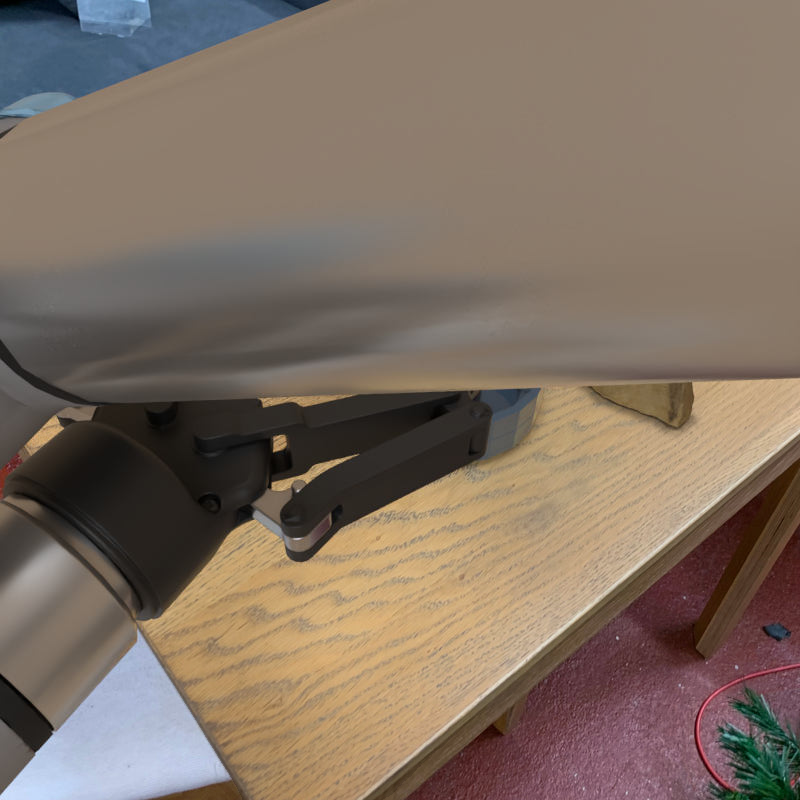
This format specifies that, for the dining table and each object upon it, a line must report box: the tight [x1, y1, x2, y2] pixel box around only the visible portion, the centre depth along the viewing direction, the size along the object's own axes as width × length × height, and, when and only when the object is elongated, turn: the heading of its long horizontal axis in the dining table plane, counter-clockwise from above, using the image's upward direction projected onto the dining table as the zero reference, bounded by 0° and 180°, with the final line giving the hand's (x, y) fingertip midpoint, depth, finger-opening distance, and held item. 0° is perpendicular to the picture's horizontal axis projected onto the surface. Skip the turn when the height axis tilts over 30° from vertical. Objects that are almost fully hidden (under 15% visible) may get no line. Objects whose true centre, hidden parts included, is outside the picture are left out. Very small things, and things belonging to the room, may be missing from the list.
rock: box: [590, 382, 695, 428], centre depth 72 cm, size 11×9×10 cm
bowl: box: [475, 388, 545, 462], centre depth 72 cm, size 17×17×6 cm
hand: (384, 259), depth 40 cm, fingers open, 13 cm apart
